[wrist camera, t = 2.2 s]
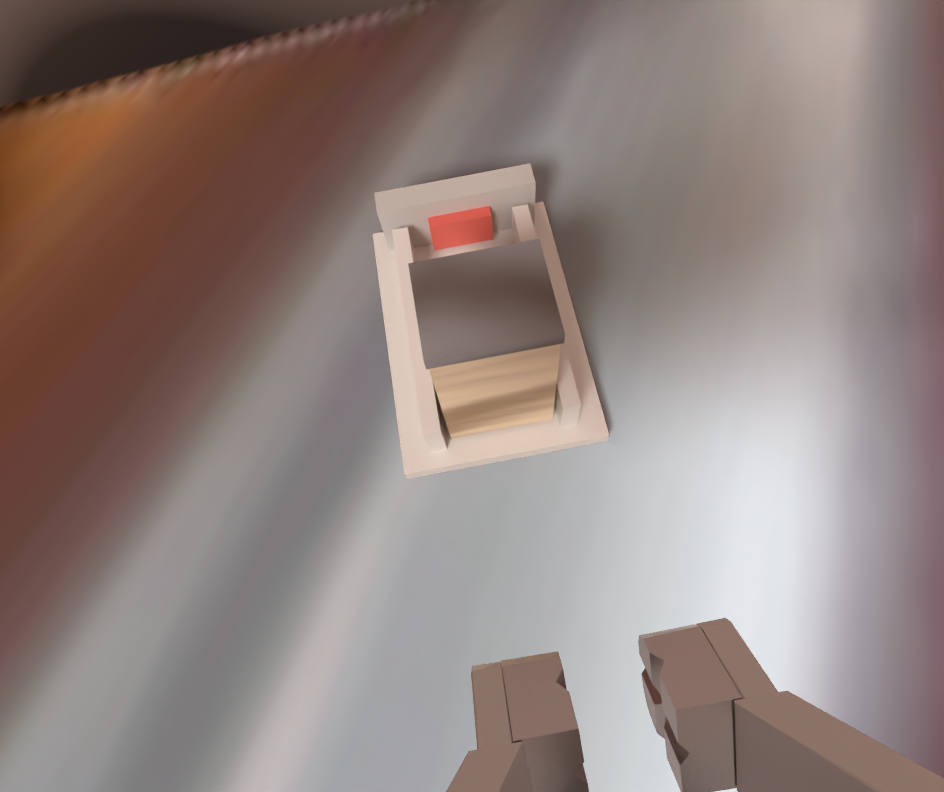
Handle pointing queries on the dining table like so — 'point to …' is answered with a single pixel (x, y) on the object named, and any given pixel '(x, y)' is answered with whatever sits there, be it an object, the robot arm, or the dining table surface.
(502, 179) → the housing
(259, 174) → the dining table surface
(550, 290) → the light wood tall block
